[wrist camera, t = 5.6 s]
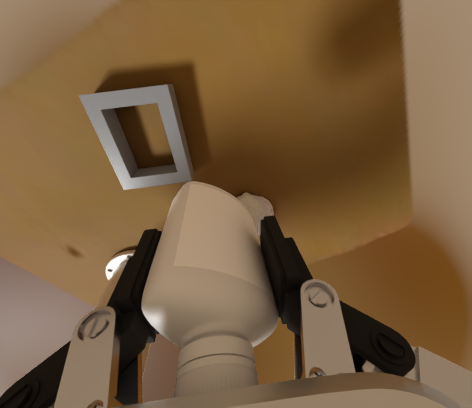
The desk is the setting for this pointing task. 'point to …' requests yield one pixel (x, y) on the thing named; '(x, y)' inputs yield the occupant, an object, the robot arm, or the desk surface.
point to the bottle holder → (116, 142)
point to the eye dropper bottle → (210, 290)
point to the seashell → (256, 208)
